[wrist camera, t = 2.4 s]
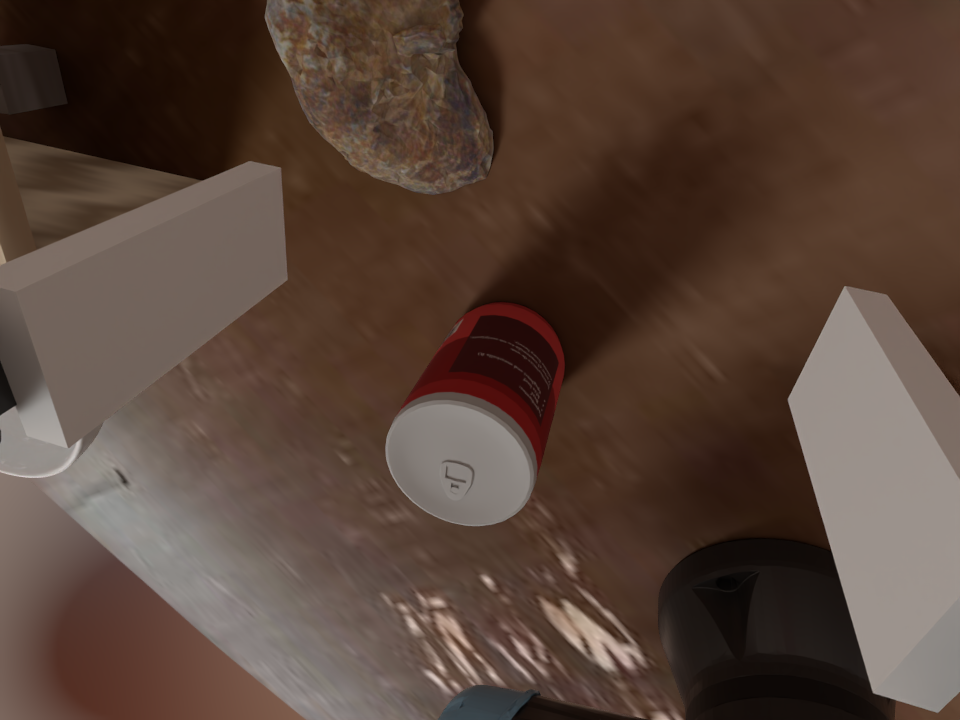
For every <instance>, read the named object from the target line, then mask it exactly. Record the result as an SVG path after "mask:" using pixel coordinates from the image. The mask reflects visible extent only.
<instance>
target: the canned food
mask: <svg viewBox="0 0 960 720" xmlns="http://www.w3.org/2000/svg"><path fill="white" fill-rule="evenodd" d="M564 370H565V361H564V353H563V350H562V347H561V344H560V341H559V338H558V336H557V335H556V333H555V331H554V330H553V328H552V327H551V326H550V324H549V323H548V322H547V321H546V320H545V319H544V318H543V317H541V316H540V315H539V314H537V313H536V312H535V311H533V310H531V309H529V308H527V307H525V306H521V305H518V304H515V303H507V302H496V303H489V304H486V305H482V306H480V307H478V308H475V309H474V310H472V311H470V312H468V313H466V314H465V315H464V316H463V317H461V318H460V319H459V320H458V321H457V322H456V324H455V325H454V327H453V328H452V329H451V331H450V332H449V334H448V335H447V337H446V339H445V340H444V342H443V343H442V345H441V346H440V348H439V349H438V351H437V352H436V354H435V356H434V357H433V359H432V360H431V362H430V363H429V365H428V366H427V368H426V370H425V371H424V373H423V374H422V376H421V377H420V379H419V380H418V382H417V383H416V385H415V387H414V388H413V390H412V391H411V393H410V394H409V396H408V397H407V399H406V400H405V402H404V404H403V405H402V407H401V409H400V411H399V412H398V414H397V415H396V417H395V419H394V421H393V423H392V426H391V428H390V430H389V433H388V435H387V440H386V447H385V450H386V460H387V463H388V466H389V470H390V472H391V474H392V476H393V478H394V480H395V482H396V484H397V485H398V486H399V487H400V489H401V490H402V491H403V493H404V494H405V495H406V496H407V497H408V498H409V499H410V500H411V501H413V502H414V503H415V504H416V505H417V506H419V507H420V508H422V509H423V510H425V511H426V512H428V513H430V514H432V515H434V516H436V517H438V518H440V519H443V520H445V521H448V522H451V523H456V524H461V525H466V526H484V525H492V524H495V523H499V522H502V521H505V520H506V519H508V518H510V517H512V516H514V515H515V514H516V513H517V512H518V511H519V510H521V509H522V508H523V507H524V505H525V504H526V502H527V501H528V499H529V497H530V495H531V492H532V491H533V488H534V485H535V482H536V479H537V476H538V472H539V469H540V466H541V462H542V458H543V455H544V451H545V447H546V443H547V439H548V435H549V431H550V427H551V424H552V420H553V416H554V412H555V408H556V404H557V400H558V397H559V393H560V389H561V385H562V381H563V377H564Z"/></svg>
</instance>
